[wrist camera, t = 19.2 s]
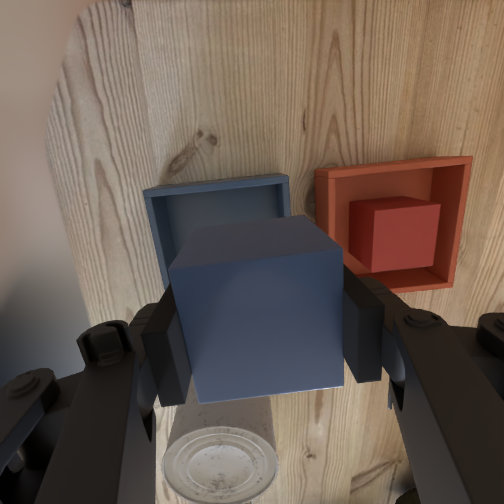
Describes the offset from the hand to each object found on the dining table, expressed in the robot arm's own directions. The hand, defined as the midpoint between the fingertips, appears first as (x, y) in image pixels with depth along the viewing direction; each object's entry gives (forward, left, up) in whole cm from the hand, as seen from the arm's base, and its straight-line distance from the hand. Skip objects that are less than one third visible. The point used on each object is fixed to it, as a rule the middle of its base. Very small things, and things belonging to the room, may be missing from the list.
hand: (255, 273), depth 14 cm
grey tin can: (+18, -4, -15) cm, 24 cm away
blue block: (0, 0, 0) cm, 0 cm away
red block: (+2, +13, -14) cm, 19 cm away
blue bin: (+2, -2, -15) cm, 15 cm away
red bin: (+2, +13, -15) cm, 20 cm away
